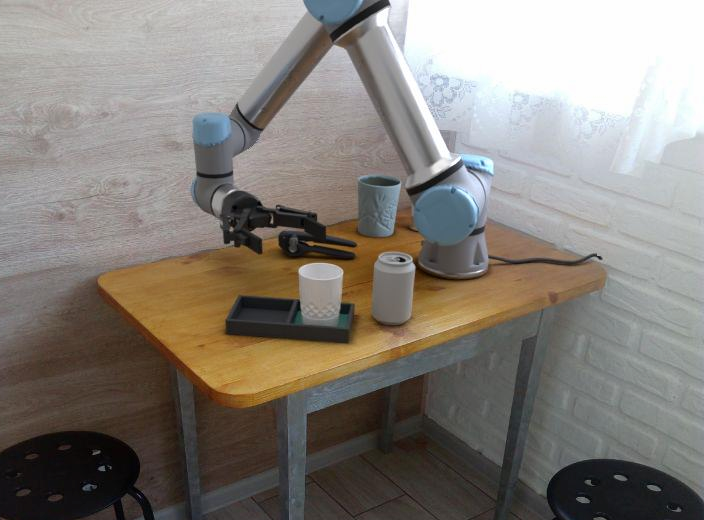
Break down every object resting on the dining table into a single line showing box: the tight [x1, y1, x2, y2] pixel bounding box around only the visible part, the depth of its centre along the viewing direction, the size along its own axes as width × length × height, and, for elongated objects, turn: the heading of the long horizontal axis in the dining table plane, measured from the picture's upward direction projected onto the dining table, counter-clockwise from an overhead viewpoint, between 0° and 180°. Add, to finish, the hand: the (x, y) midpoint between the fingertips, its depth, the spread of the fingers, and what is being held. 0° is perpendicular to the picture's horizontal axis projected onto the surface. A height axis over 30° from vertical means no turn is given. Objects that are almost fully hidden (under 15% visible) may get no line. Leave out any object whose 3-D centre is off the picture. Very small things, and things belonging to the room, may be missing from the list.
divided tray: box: [224, 294, 356, 344], centre depth 141 cm, size 22×11×3 cm, turn 84°
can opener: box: [277, 230, 358, 260], centre depth 169 cm, size 18×7×6 cm, turn 83°
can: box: [371, 251, 416, 326], centre depth 142 cm, size 8×8×12 cm
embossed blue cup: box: [357, 174, 402, 238], centre depth 181 cm, size 10×10×12 cm
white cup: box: [297, 262, 344, 327], centre depth 138 cm, size 8×8×10 cm
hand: (293, 240), depth 140 cm, fingers open, 13 cm apart
